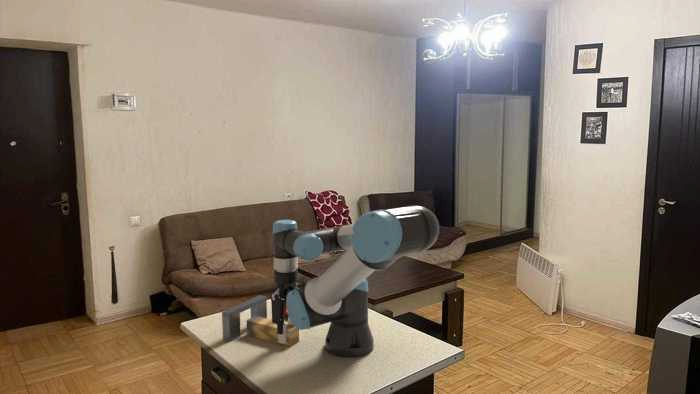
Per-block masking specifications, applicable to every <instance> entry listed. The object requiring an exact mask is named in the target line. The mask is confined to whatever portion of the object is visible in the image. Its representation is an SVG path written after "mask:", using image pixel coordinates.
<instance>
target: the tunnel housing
mask: <svg viewBox="0 0 700 394" xmlns="http://www.w3.org/2000/svg"><path fill="white" fill-rule="evenodd" d="M267 299H268V298H267V296H265V295H262V294H261V295H260V294H259V295H256V296H255V297H253V298H250V299H248V300H246V301H244V302H241V303H238V304H236V305H234V306H231V307H229V308H227V309H225V310H223V311H221V322H222V323H221V324H222V340H223V341H227V342H232V341H234V340H236V339H238V338H241V336H242V335H241V333H242V332H241V331H242V330H241V313H242V312H245V311H247V310H249V309H250V318H252V317H254V316H258V317H262V318H266V319H268V306H267V303H268V300H267Z"/></svg>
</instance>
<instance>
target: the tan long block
mask: <svg viewBox="0 0 700 394" xmlns="http://www.w3.org/2000/svg"><path fill="white" fill-rule="evenodd" d="M284 323H285V322H284ZM285 324H286V344H282V343H279V342H278V333H277V324H274V323H272V319H270V318H267V319H266V318H262V317H258V316H254V317H252V318H251V317H250V318H248V319H246V335H247V336H249V337H255V338H257V339H262V340H265V341H269V342H272V343H276V344H281V345H284V346H287V347H292V346H294V345H296V344H297V343H299V342H300V330H299V329H297V328H296V327H295V326H294V325H290V324H288V322H287V323H285Z"/></svg>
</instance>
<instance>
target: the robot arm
mask: <svg viewBox="0 0 700 394" xmlns="http://www.w3.org/2000/svg"><path fill="white" fill-rule="evenodd" d="M439 235H440V223H439V220H438V218H437V216H436V215H435V213H433V211H431V210H430V209H429V208H426V207H425V206H422V205H421V206H420V205H408V206H402V207H395V208H388V209H376V210H372V211H369V212H366V213H363V214H362V215H360V216H359V217H358V218H357V219H356V220H355V222H354V223H353V224H352V223H351V224H346V225H344V224H343V225H339V226H334V227H333V226H332V227H327V228H322V229H316V230H310V231H302V230H301V231H300V230H298V224H297V221H296V220H292V219H279V220H276V221H274V222H273V223H272V249H273V251H272V254H273V269H274V270H273V281H274V283H275V284H276V288H275V292H274V293H270V294H269V298H270V300H271V303H270V304H271V320H272V323H274V324H277V333H278V342H279V343H282V344H281V345H283V344H286V324H285V321H286V320H285V319H286V318H285V312H286V306H287V312H288V315H289V317H288V320H287V324H290V325H294V326H295V327H296V328H297V329H299V331H304V330H310V329H312V328H315V327H318V326H322V325H325V324H329V323H330V325H329V327H328V331H327V334H326V337H325V341H324V342H325V347H324V348H325V350H326V351H327V352H328V353H329V354H332V355H335V356H338V357H345V358H353V357H362V356H364V355H367V354H370V352H372V351H373V349H374V347H375V346H374V343H375V342H374V337H373V333H372V331H371V328H370V325H369V292H370V289H369V283H368V279H367V278H368V277H369V276H370V275H371V274H372V273H374V272H375V271H383V270H386V269H388V268H389V267H390V266H391V265H392V264H394V263H395V262H396V261H397V260H398V259H400V258H401V257H405V256H409V255H414V254H419V253H421V252H424V251H426V250H428V249H430V248H431V247H432V246H433V245H434V244H435V243H436V242H437V239H438V237H439ZM342 251H345V252H343V254H342V255H341V256H340V257H339V258H337V260H336V261H335V262H334V263H333V264H331V266H330V267H329V268H328V269H327V270H326V271H325V272H324V273H323V274H321V276H315V277H312V278H310V280H308V281H307V282H306V284H305V285H302V283H297V282H298V281H299V270H298V268H299V260H298V259H301V260H304V261H305V260H306V261H314V260H317V259H318V258H319V257H320V256H321V255H326V254H329V253H335V252H336V253H337V252H342ZM302 286H303V287H302ZM279 343H278V344H279Z"/></svg>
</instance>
